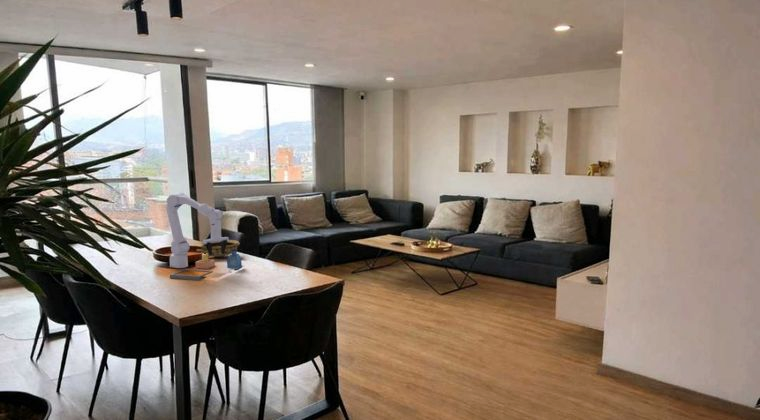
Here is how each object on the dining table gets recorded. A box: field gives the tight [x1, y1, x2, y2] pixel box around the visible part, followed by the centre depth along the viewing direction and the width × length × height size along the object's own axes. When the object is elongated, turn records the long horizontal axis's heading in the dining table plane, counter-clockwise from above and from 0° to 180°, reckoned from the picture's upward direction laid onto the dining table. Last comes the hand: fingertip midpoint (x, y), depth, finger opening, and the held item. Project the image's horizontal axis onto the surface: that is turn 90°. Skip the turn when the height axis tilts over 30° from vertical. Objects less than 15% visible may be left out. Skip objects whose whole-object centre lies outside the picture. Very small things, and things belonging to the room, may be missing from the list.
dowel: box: [201, 253, 209, 262], centre depth 289 cm, size 3×3×8 cm
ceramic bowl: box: [196, 239, 240, 260], centre depth 320 cm, size 30×24×10 cm
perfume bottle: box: [226, 248, 243, 271], centre depth 290 cm, size 6×6×12 cm
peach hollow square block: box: [195, 258, 216, 270], centre depth 290 cm, size 8×8×5 cm
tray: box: [169, 268, 214, 281], centre depth 274 cm, size 18×13×2 cm
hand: (216, 254), depth 285 cm, fingers open, 7 cm apart
